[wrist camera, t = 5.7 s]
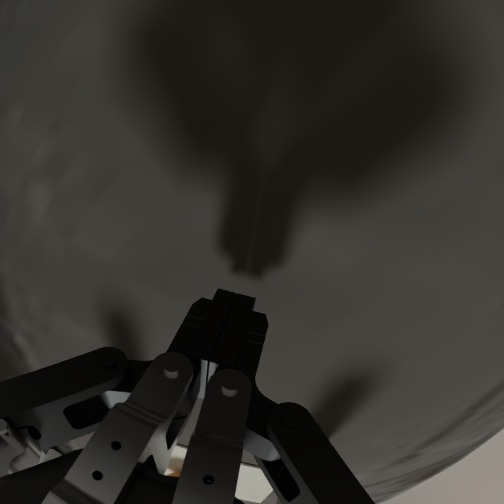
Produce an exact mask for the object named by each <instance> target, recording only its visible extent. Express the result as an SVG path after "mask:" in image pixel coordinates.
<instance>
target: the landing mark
mask: <svg viewBox="0 0 504 504" xmlns="http://www.w3.org/2000/svg"><path fill="white" fill-rule="evenodd" d="M186 452H187V447H184V446H181V445H178V444H176V445H175V447H174V449H173V451H172V453H171V456H170V460H169V464H168V467H167V469H166V471H165V473H164V475H168V474H171V473H175V472H181V469H182V466H183V462H184V459H185V455H186ZM272 491H273V489H272V487H271V485H270V484H269V482H268V480H267V479H266V477H265V475H264V473H263V472H262V470H261V468H260V467H258V466H253V465H249V464H245V463H241V465H240V470H239V476H238V481H237V487H236V492H235V497H236V498H238V499H242V500H247V501H252V502H257V503H261V502H262V501H263V500H264V499H265V498H266V497H267V496H268V495H269V494H270V493H271V492H272Z"/></svg>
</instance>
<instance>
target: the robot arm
mask: <svg viewBox="0 0 504 504" xmlns="http://www.w3.org/2000/svg"><path fill="white" fill-rule="evenodd" d="M236 295H237V296H236ZM255 300H256V298H254V297H250V296H246V295H242V294H237V293H234V292H230V291H227V290H223V289H218V290H217V291H216V293H215V295H214V298H213V300H210V299H206V298H201V299H199V300H198V301H196V302H195V303H194V304H192V306H191V308H190V310H189V312H188V313H187V315H186V317H185V319H184V321H183V323H182V324H181V326H180V328H179V330H178V332H177V333H176V335H175V337H174V339H173V341H172V343H171V344H170V346H169V348H168V350H167V351H166V353H162V354H160V355H158V356H157V357H156V358H155V359H154V360H151V361H137V360H127V357H126V355H125V354H124V353H123V352H122V351H121V350H119V349H117V348H114V347H103V348H99V349H97V350H94V351H91V352H88V353H85V354H83V355H80V356H77V357H74V358H71V359H68V360H65V361H63V362H60V363H57V364H54V365H51V366H48V367H45V368H42V369H39V370H36V371H33V372H30V373H27V374H24V375H21V376H18V377H15V378H12V379H9V380H5V381H2V382H0V504H244V503H243V502H242V501H241V500H239V499H238V498H236V497H235V492H236V487H237V481H238V476H239V470H240V465H241V459H242V453H243V449H245V450H247V451H249V452H250V453H252V454H254V458H255V460H256V461H257V463H258V465H259V467H260V468H261V470H262V472H263V473H264V475H265V477H266V479H267V480H268V482H269V484H270V485H271V487H272V489H273V490H274V492H275V494H276V495H277V497H278V498H279V500H280V502H281V503H282V504H375V503H374V502H373V500H372V499H371V498H370V496H369V495H368V494H367V492H366V491H365V490H364V488H363V487H362V486H361V484H360V483H359V481H358V480H357V479H356V477H355V476H354V475H353V473H352V472H351V471H350V469H349V468H348V466H347V465H346V464H345V462H344V461H343V460H342V458H341V457H340V455H339V454H338V453H337V451H336V450H335V448H334V447H333V446H332V444H331V443H330V441H329V440H328V439H327V437H326V436H325V434H324V433H323V431H322V430H321V429H320V427H319V426H318V424H317V423H316V421H315V420H314V419H313V417H312V416H311V414H310V413H309V412H308V410H307V409H306V408H304V407H303V406H301V405H299V404H296V403H292V402H285V403H280V404H277V403H275V402H273V401H272V400H270V399H268V398H267V397H265V396H264V395H263V394H262V393H261V392H260V391H259V390H258V388H257V386H256V382H255V376H256V372H257V368H258V364H259V360H260V356H261V352H262V348H263V344H264V341H265V337H266V333H267V329H268V321H267V318H266V314H263V313H259V312H255V311H253V309H254V305H255ZM197 397H200V398H203V403H202V406H201V410H200V413H199V417H198V420H197V424H196V427H195V431H194V433H192V435H191V438H190V441H189V445H188V448H187V452H186V455H185V459H184V462H183V466H182V469H181V473H180V477H176V476H167V475H164V473H165V471H166V469H167V467H168V464H169V460H170V456H171V453H172V451H173V449H174V447H175V445H176V443H177V441H178V439H179V437H180V435H181V434H182V432H183V430H184V428H185V426H186V424H187V422H188V420H189V418H190V416H191V413H192V409H193V407H194V404H195V402H196V399H197ZM94 431H95V433H94V434H93V436H92V437H91V439H90V440H89V442H88V443H87V445H86V446H85V448H84V449H78V450H74V451H71V452H69V453H66V454H64V455H61V456H59V457H56V458H54V459H51V460H48V461H46V462H43V463H40V464H38V463H39V461H40V456H41V450H44V449H47V448H50V447H53V446H56V445H59V444H62V443H65V442H67V441H70V440H73V439H76V438H78V437H81V436H84V435H86V434H89V433H92V432H94ZM36 464H38V465H36ZM33 465H35V466H33ZM31 466H32V467H31Z"/></svg>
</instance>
